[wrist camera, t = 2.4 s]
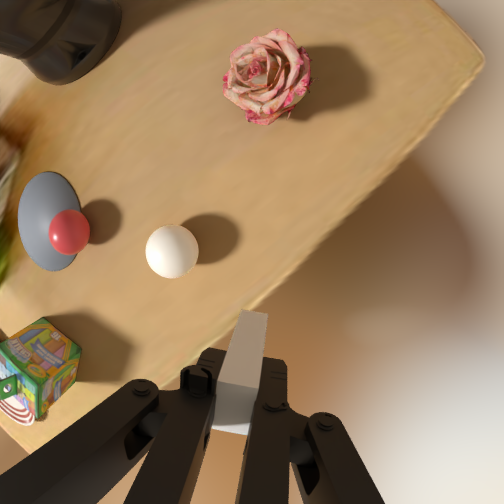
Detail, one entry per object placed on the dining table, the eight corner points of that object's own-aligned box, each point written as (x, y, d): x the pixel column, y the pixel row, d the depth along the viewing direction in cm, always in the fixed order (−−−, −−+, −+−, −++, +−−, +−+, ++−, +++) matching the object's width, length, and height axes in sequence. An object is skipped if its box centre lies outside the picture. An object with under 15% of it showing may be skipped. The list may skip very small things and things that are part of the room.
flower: (320, 41, 24) (273, 7, 18) (350, 112, 24) (305, 86, 18) (254, 80, 31) (201, 62, 25) (272, 147, 31) (217, 137, 25)
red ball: (67, 205, 33) (40, 210, 27) (99, 209, 32) (72, 214, 27) (67, 246, 34) (40, 255, 29) (97, 252, 34) (72, 264, 28)
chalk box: (75, 382, 40) (27, 433, 25) (38, 351, 40) (-14, 392, 25) (83, 347, 38) (25, 401, 23) (42, 313, 37) (-21, 354, 23)
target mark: (21, 171, 32) (20, 171, 32) (85, 173, 32) (84, 173, 31) (20, 261, 36) (19, 261, 35) (82, 280, 35) (81, 280, 35)
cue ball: (160, 218, 32) (138, 224, 27) (207, 225, 32) (192, 233, 26) (156, 265, 33) (135, 279, 28) (201, 273, 33) (187, 290, 27)
